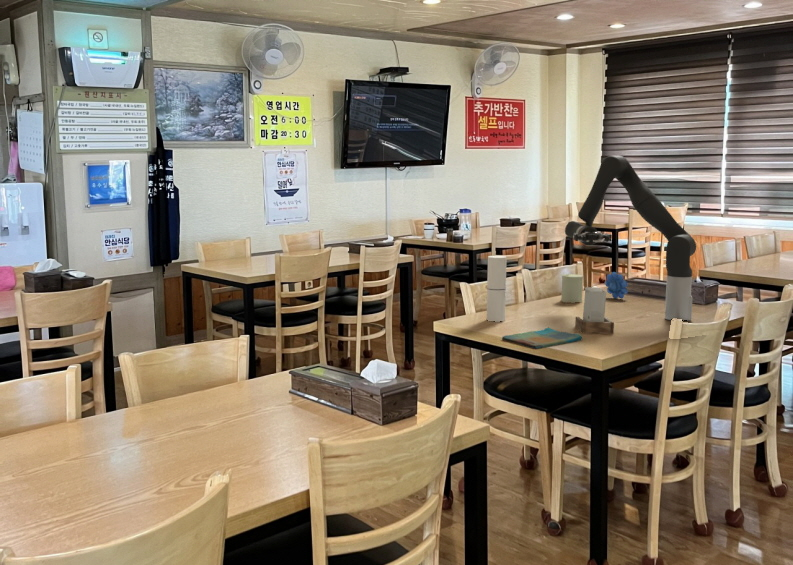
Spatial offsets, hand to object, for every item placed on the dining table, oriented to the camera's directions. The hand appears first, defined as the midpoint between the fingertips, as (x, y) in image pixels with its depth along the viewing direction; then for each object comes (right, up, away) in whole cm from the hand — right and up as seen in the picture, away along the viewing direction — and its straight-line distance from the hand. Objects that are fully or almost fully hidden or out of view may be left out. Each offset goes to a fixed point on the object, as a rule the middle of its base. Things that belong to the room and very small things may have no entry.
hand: (596, 238), depth 305 cm
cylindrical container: (-38, -32, +5) cm, 50 cm away
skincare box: (-4, -34, -12) cm, 36 cm away
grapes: (+22, -24, +55) cm, 64 cm away
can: (+1, -25, +48) cm, 54 cm away
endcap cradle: (-4, -34, -12) cm, 37 cm away
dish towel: (-26, -38, -29) cm, 54 cm away
